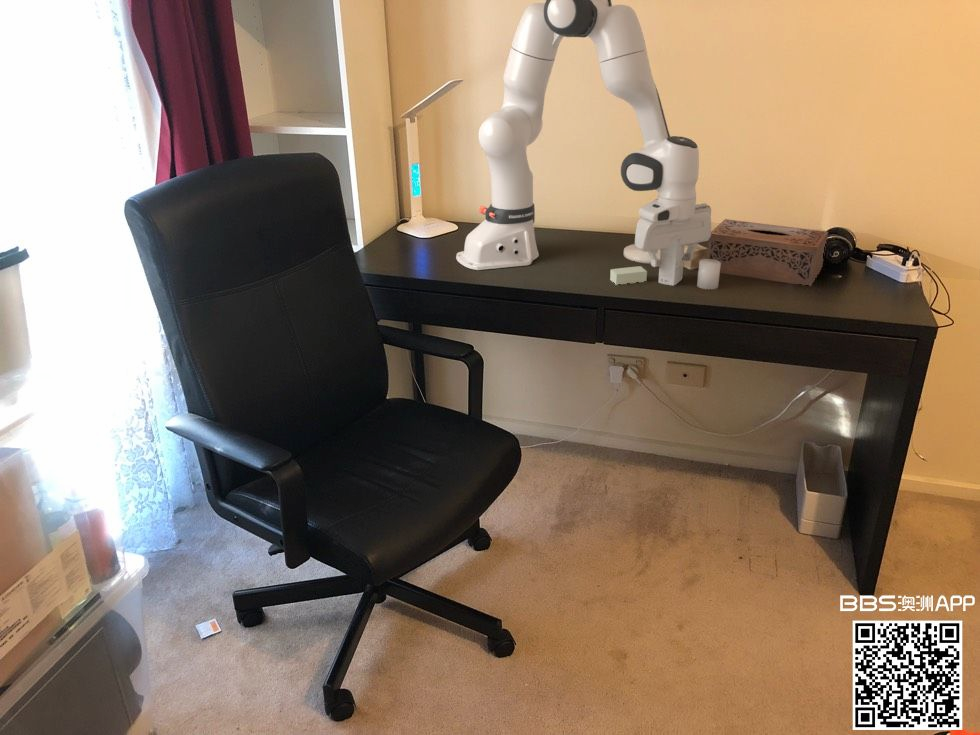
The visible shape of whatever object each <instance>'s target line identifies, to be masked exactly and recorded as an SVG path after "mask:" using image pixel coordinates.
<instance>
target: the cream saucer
mask: <svg viewBox="0 0 980 735" xmlns="http://www.w3.org/2000/svg"><path fill="white" fill-rule="evenodd" d="M660 251H661V249H659V250H658V253H657V254H656V257H657V258H658V259H660ZM623 257H624V258H625V259H627V260H629V261H631V262H634V261H635V263H640V264H648V265H651V258H650V256H649V254H648V251H647V252H643V251H641V250H639V249H637V247H636V246H635V243H633V244H629V245H627V246H625V247H624V249H623Z"/></svg>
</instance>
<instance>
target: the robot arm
mask: <svg viewBox="0 0 980 735" xmlns="http://www.w3.org/2000/svg"><path fill="white" fill-rule="evenodd" d="M565 37H566V38H589V39H590V40H592V42H593V44H594V45H595V49H596V50H595V51H596V53H597V59H598V63H599V70H600V73H601V77H602V81H603V83H604V87H605V88H606V90H607V91H608V92H609V93H610V94H612V95H613V96H614V97H616V98H619V99H621V100H623V101H624V102H626V103H627V104H629V105H630V106H631V107H632V109H633V110H634V113H635V114H636V118H637V122H638V124H639V129H640V132H641V137H642V140H643V147H642V148H640V149H637V150H634V151H632V152H631V153H630V154H628V155H627V156H625V158H624V159H623V160H622V162H621V165H620V166H621V167H620V176H621V180H622V181H623V183H624V185H625V186H626V187H627V188H629V189H630V190H632V191H633V192H634V191H636V192H645V191H646V192H648V191H657V192H658V194H657V198H655V199H654V200H653V201H651V202H649V203H647V204H645V205H643V206H641V207H640V208H639V210H638V216H639V217H641V218H640V219H638V220H637V224H636V226H635V227H636V228H635V234H634V235H635V236H634V244H635V246H636V247H637V249H639V250H641V251H643V252H647V251H648V254H649V256H650V258H651V264H650V265H651V267H653V268H656V267H659V266H660V259H658V258H657V257H656V254H657V253H658V250H659V249H665V248H669V247H670V243H671V237H674V236H681V241H680V245H681V246H682V245H689V247H688V249H687V251H686V252H685V253H684V260H685V261H690V260H692V254H693V253H694V251H695V249H696V248H697V244H699V243H703V242H709V238H710V237H711V232H712V218H711V215H712V208H711V206H710V205H709V204H708V203H706V202H705V203H700V204H696V203H697V202H696V201H697V190H696V185H697V182H698V179H699V172H700V170H699V167H700V153H699V151H700V150H699V147H698V144H697V143H696V142H695V141H694V140H692V139H690V138H688V137H684V136H680V135H679V136H677V135H676V136H675V135H673V136H671V134H670V131H669V128H668V124H667V120H666V117H665V113H664V109H663V105H662V102H661V98H660V95H659V92H658V89H657V85H656V82H655V80H654V78H653V73H652V69H651V65H650V61H649V56H648V50H647V45H646V42H645V41H646V40H645V37H644V33H643V31H642V27H641V23H640V21H639V18H638V15H637V13H636V12H635V10H634V9H633V7H631V6H629V5H625V4H614V5H613V4H612V0H545V2H535V3H532V4H530V5H528V6H527V7H525V10H524V11H523V14H522V15H521V18H520V20H519V23H518V24H517V27H516V30H515V32H514V36H513V39H512V42H511V45H510V50H509V54H508V58H507V60H506V64H505V69H504V72H503V77H502V82H503V84H504V86H503V88H504V89H503V101H502V104H501V105H502V106H501V108H500V109H499V110H498V111H495V112H492V113H491V114H489V115H488V116H487V117H486V119H485V120H484V121H483V122H482V124H481V125H480V127H479V130H478V137H477V138H478V142H479V146H480V147H481V149H482V150H483V151H484V153H485V156H486V160H487V165H488V169H489V174H490V196H491V200H490V201H491V202H490V205H489V206H488V207H486V206H484V205H480V206H479V207H478V212H479V214H482V215H484V217H485V219H483V221H481V223H479V224H478V225H477V226H476V227H475V228H474V229H473V230H472V231H470V232H469V233H468V234H467V235H466V237H465V239H464V240H465V241H464V248H463V250H462V251H459V252H457V253H456V256H455V258H456V261H457V263H459V264H461V266H464V267H465V268H468V269H471V270H474V271H475V270H476V271H483V270H493V269H494V270H495V269H502V268H513V267H523V266H529V265H531V264H532V263H533V261H534V260H536V259H537V258H539V256H540V253H539V250H538V247H537V246H538V245H537V242H536V234H535V226H534V223H535V216H536V215H535V214H536V213H535V204H534V176H533V175H534V174H533V172H532V170H531V169H530V166H529V161H528V155H527V147H529V146H530V145H532V144H533V143H535V141H536V140H537V138H539V135H540V134H541V131H542V129H543V112H544V105H545V98H546V92H547V87H548V85H549V81H550V77H551V73H552V69H553V66H554V64H555V60H556V56H557V52H558V49H559V46H560V43H561V41H562V40H563V38H565Z"/></svg>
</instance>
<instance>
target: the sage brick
mask: <svg viewBox="0 0 980 735" xmlns="http://www.w3.org/2000/svg"><path fill="white" fill-rule="evenodd" d="M609 273H610V278H609V280H610V281H611V282H612V283H613V282H614V283H615V284H614V283H613V284H614V285H615V286H619V285H618V284H621V285H628V284H627V283H630V284H637V283H636V282H639V283H645V282H644V281H646V282H647V276H648V271H647V270H646V269H645V268H643V266H641V265H639V266H629V267H620V268H610V272H609Z"/></svg>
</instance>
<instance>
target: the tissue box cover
mask: <svg viewBox="0 0 980 735" xmlns="http://www.w3.org/2000/svg"><path fill="white" fill-rule="evenodd" d="M828 235H829V231H825V230H816V229H809V228H808V229H807V228H800V227H791V226H784V225H777V224H776V225H774V224H770V223H769V224H768V223H758V222H753V221H752V222H751V221H745V220H744V221H743V220H735V219H729V218H728V219H727V218H725V219H723V220H722V222H721V223H719V224H718V225H717V226H716V227H715V228H714V229H713V230H711V237H710V238H709V240H708V241H707V242H708V244H707V248H708V252H707V259H713V260H717V261H720V262H721V266H720V274H727V275H734V276H740V277H746V278H754V279H760V280H767V281H772V282H774V281H775V282H779V283H781V282H782V283H785V282H786V283H785V284H791V285H798V284H802V285H801V286H805V285H809V286H808V287H812V285H813V284H812V283H814V282H815V280H816V279H817V277H818V276H819V274H820V272H821V271H822V269H821V268H823V265H824V264H823V263H824V259H823V253H824V247H825V244H826V245H827V241H828ZM826 240H827V241H826ZM825 248H826V247H825ZM824 254H825V253H824ZM820 270H821V271H820ZM817 275H818V276H817ZM815 278H816V279H815Z"/></svg>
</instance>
